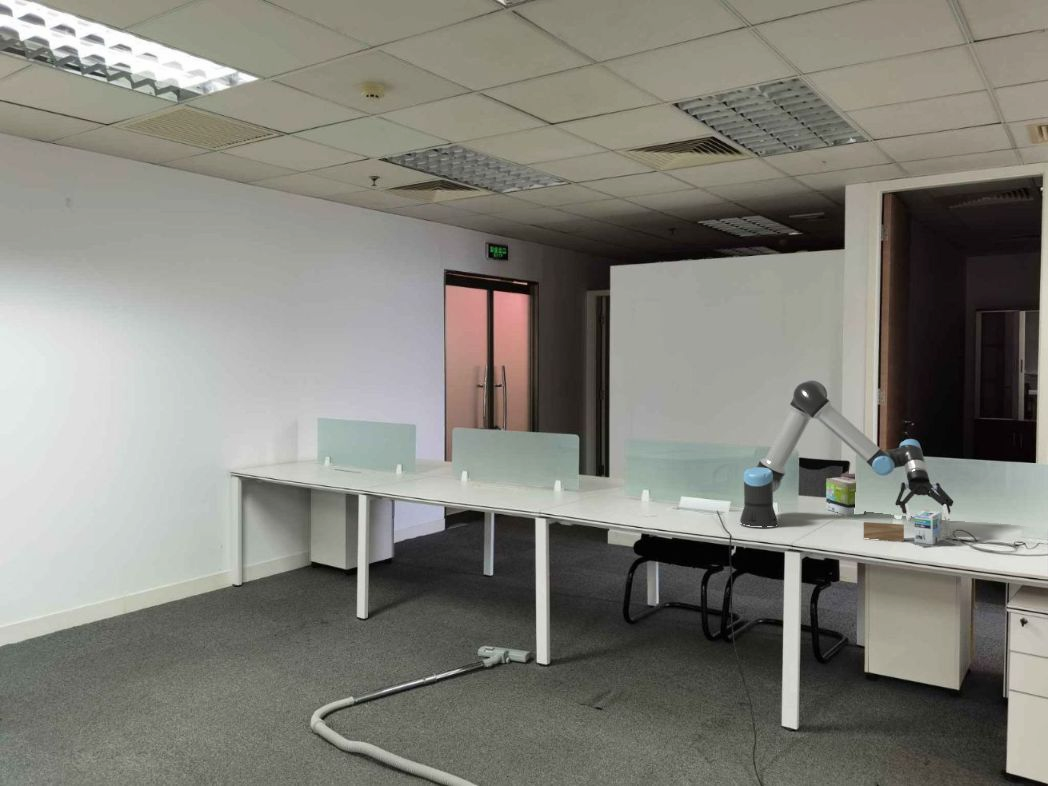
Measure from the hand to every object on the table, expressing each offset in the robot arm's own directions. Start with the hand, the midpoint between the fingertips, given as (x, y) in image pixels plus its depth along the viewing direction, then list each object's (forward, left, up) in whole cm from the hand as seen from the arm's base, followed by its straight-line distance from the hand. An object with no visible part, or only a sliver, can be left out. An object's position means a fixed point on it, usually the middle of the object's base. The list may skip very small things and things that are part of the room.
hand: (928, 520), depth 301 cm
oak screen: (-14, +7, -8) cm, 18 cm away
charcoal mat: (0, 0, -8) cm, 8 cm away
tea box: (+2, +58, -9) cm, 59 cm away
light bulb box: (0, 0, -8) cm, 8 cm away
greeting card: (+12, +73, -8) cm, 74 cm away
